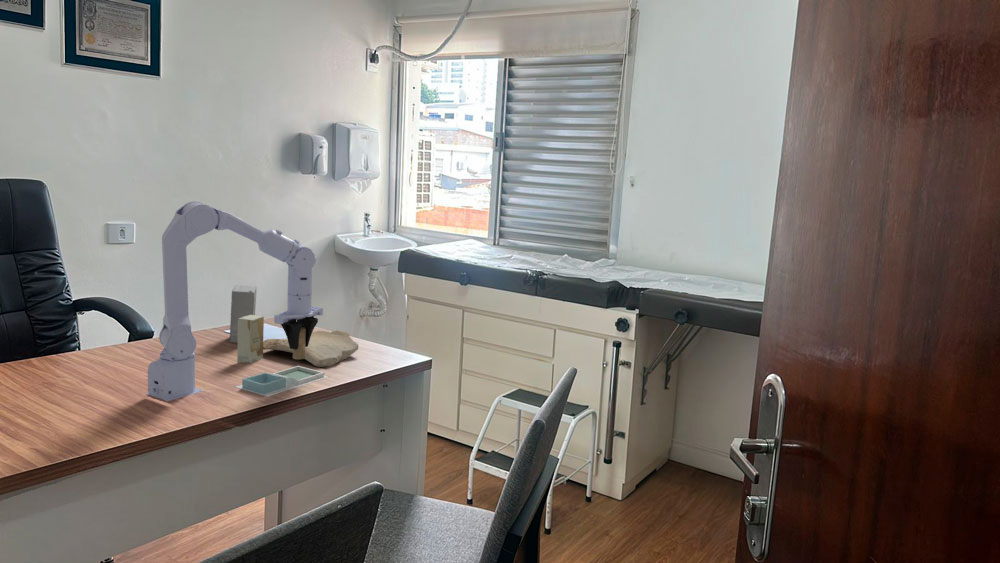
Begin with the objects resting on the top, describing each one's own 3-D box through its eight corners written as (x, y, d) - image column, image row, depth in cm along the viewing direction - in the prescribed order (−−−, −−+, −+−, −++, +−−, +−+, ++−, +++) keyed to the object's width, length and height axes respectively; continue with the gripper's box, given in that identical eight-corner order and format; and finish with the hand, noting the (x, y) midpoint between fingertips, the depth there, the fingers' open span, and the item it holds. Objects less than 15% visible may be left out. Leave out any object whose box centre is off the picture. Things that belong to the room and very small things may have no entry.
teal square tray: (263, 394, 164) (263, 385, 164) (242, 388, 168) (242, 379, 167) (286, 386, 170) (286, 378, 170) (265, 381, 174) (265, 372, 173)
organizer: (267, 399, 163) (267, 392, 163) (234, 389, 168) (234, 382, 168) (328, 378, 180) (328, 372, 180) (296, 370, 185) (297, 364, 185)
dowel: (298, 360, 176) (299, 330, 174) (290, 357, 177) (290, 328, 176) (307, 357, 178) (308, 328, 177) (298, 355, 180) (299, 326, 178)
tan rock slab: (301, 344, 215) (250, 352, 197) (303, 320, 214) (253, 325, 196) (364, 362, 204) (317, 371, 186) (368, 336, 203) (320, 343, 185)
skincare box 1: (232, 336, 215) (232, 284, 213) (257, 336, 217) (257, 285, 214) (228, 343, 207) (228, 290, 204) (254, 343, 209) (254, 290, 206)
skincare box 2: (251, 365, 187) (251, 320, 185) (236, 363, 188) (236, 318, 186) (264, 359, 194) (264, 315, 192) (249, 357, 194) (249, 313, 192)
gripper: (289, 300, 167) (288, 356, 169) (332, 292, 179) (331, 344, 182) (268, 296, 170) (267, 350, 172) (311, 288, 183) (310, 339, 185)
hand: (298, 347), depth 177 cm, fingers closed on dowel, 3 cm apart
